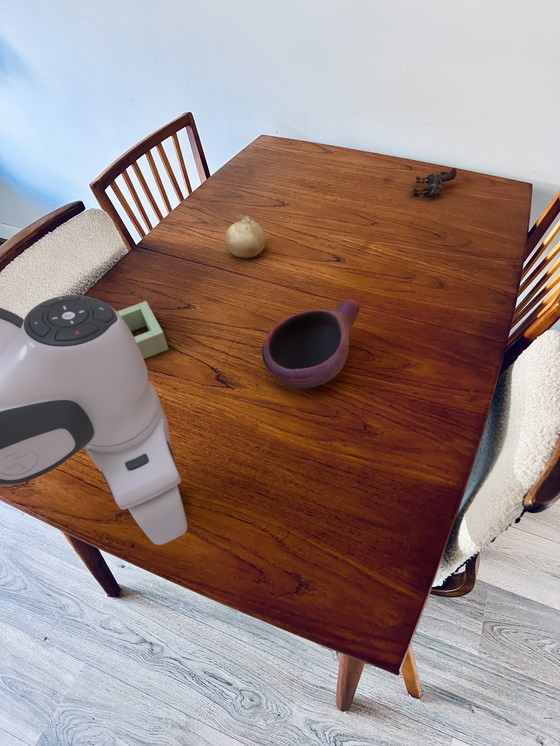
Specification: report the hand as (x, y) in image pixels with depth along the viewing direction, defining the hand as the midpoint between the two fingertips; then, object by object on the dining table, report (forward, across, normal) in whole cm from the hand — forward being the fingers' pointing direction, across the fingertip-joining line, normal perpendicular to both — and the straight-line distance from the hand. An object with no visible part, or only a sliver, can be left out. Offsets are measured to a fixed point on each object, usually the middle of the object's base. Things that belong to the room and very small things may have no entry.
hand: (155, 490), depth 65 cm
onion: (+4, -44, +33) cm, 55 cm away
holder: (+4, -31, +2) cm, 31 cm away
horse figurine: (+4, -44, +75) cm, 87 cm away
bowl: (+4, -12, +29) cm, 32 cm away
